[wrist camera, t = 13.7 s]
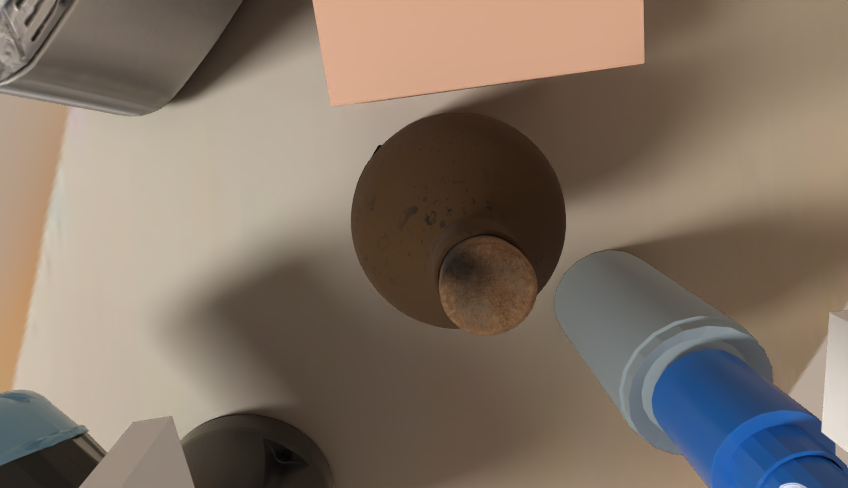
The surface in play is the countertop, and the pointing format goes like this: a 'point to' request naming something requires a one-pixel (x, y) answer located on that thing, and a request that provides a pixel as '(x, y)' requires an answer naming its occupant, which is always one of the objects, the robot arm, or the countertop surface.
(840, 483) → the spray bottle
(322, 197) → the countertop surface
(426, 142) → the olive oil
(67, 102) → the toaster
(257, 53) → the countertop surface
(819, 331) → the countertop surface
